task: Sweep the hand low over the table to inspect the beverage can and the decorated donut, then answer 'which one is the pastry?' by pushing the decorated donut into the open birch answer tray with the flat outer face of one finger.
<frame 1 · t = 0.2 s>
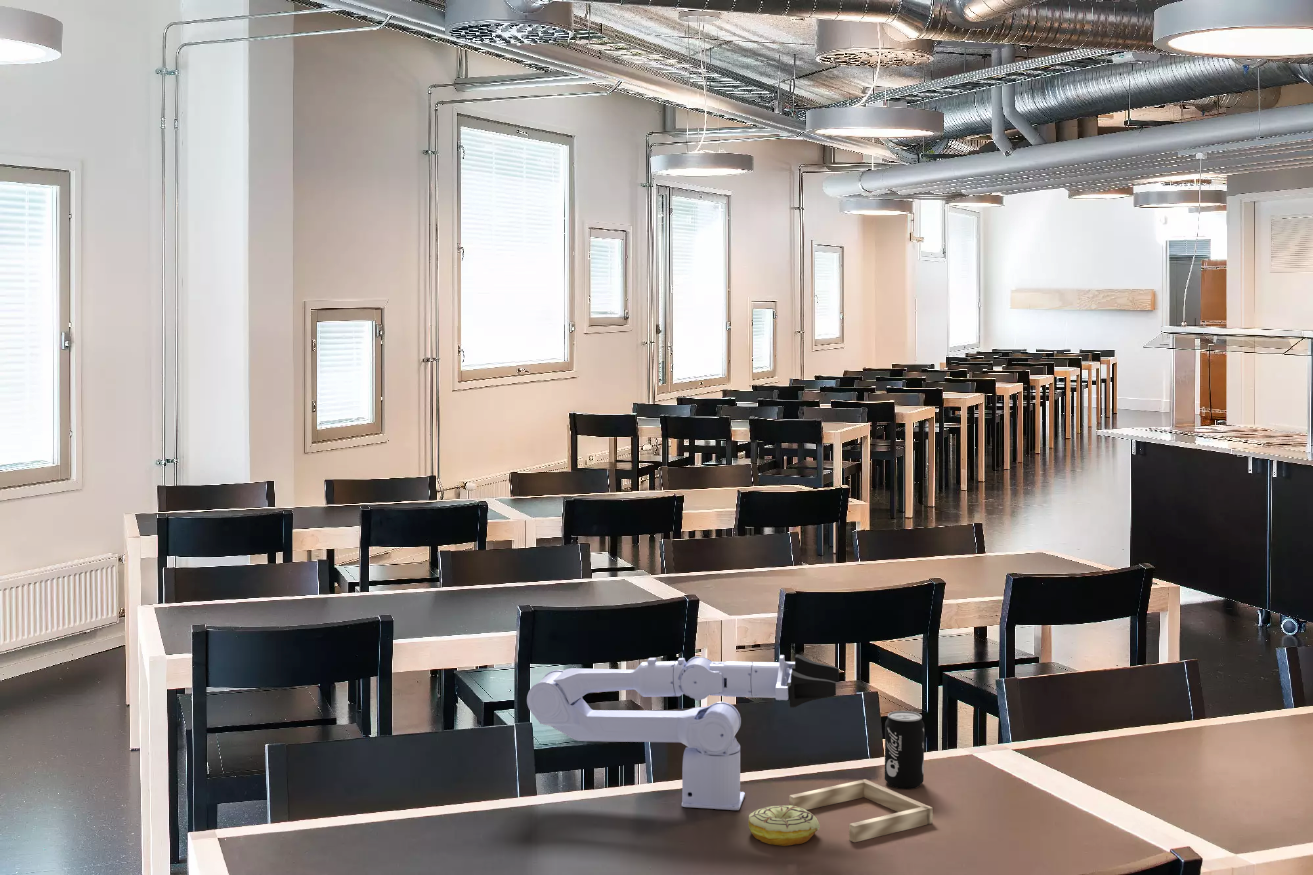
hand: (837, 681, 220), 21 cm above the table, tool horizontal, fingers open, 7 cm apart
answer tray: (858, 817, 218), on the table
decorated donut: (783, 837, 210), on the table
beverage can: (903, 785, 234), on the table
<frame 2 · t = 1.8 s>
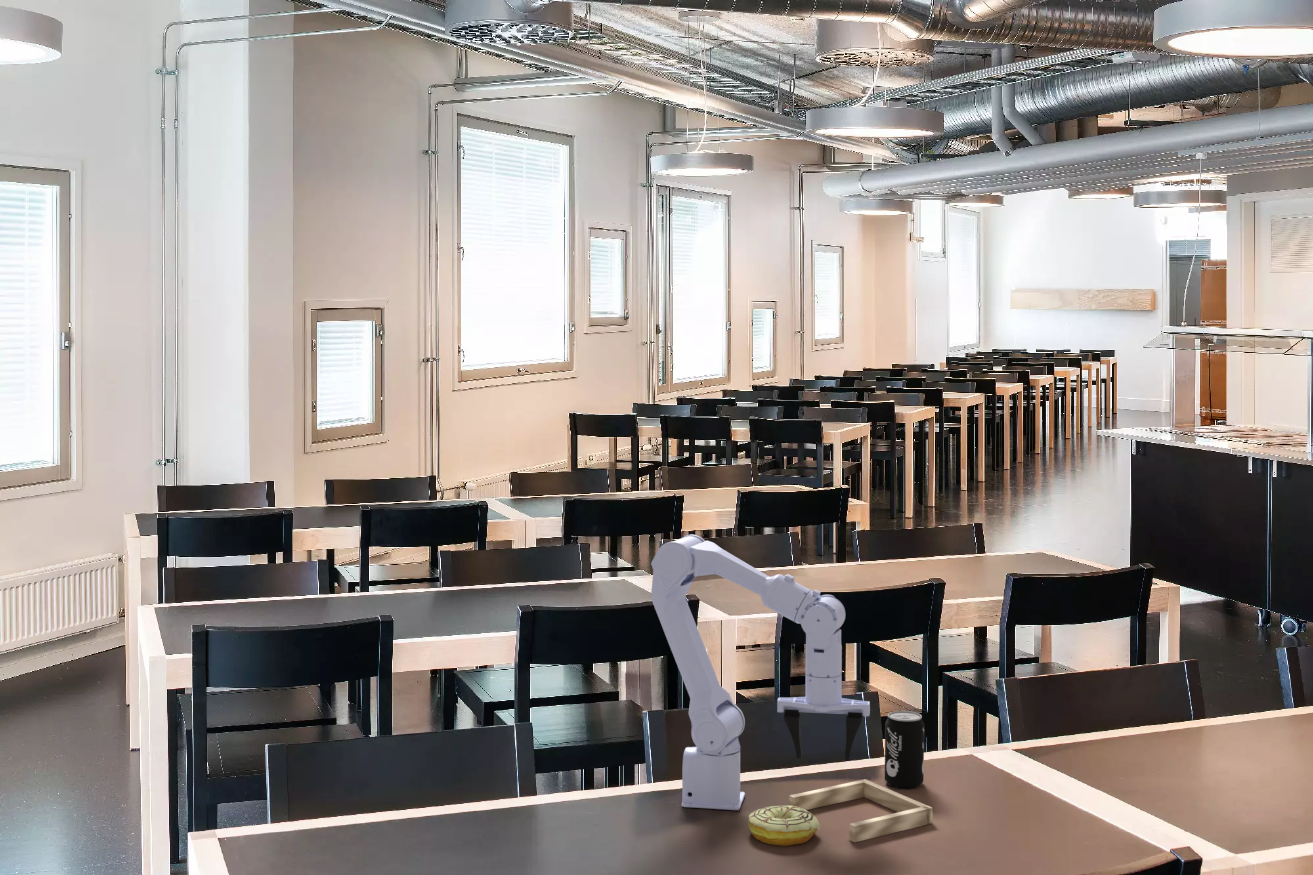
hand: (823, 757, 218), 10 cm above the table, tool pointing down, fingers open, 7 cm apart
nothing on the table moved.
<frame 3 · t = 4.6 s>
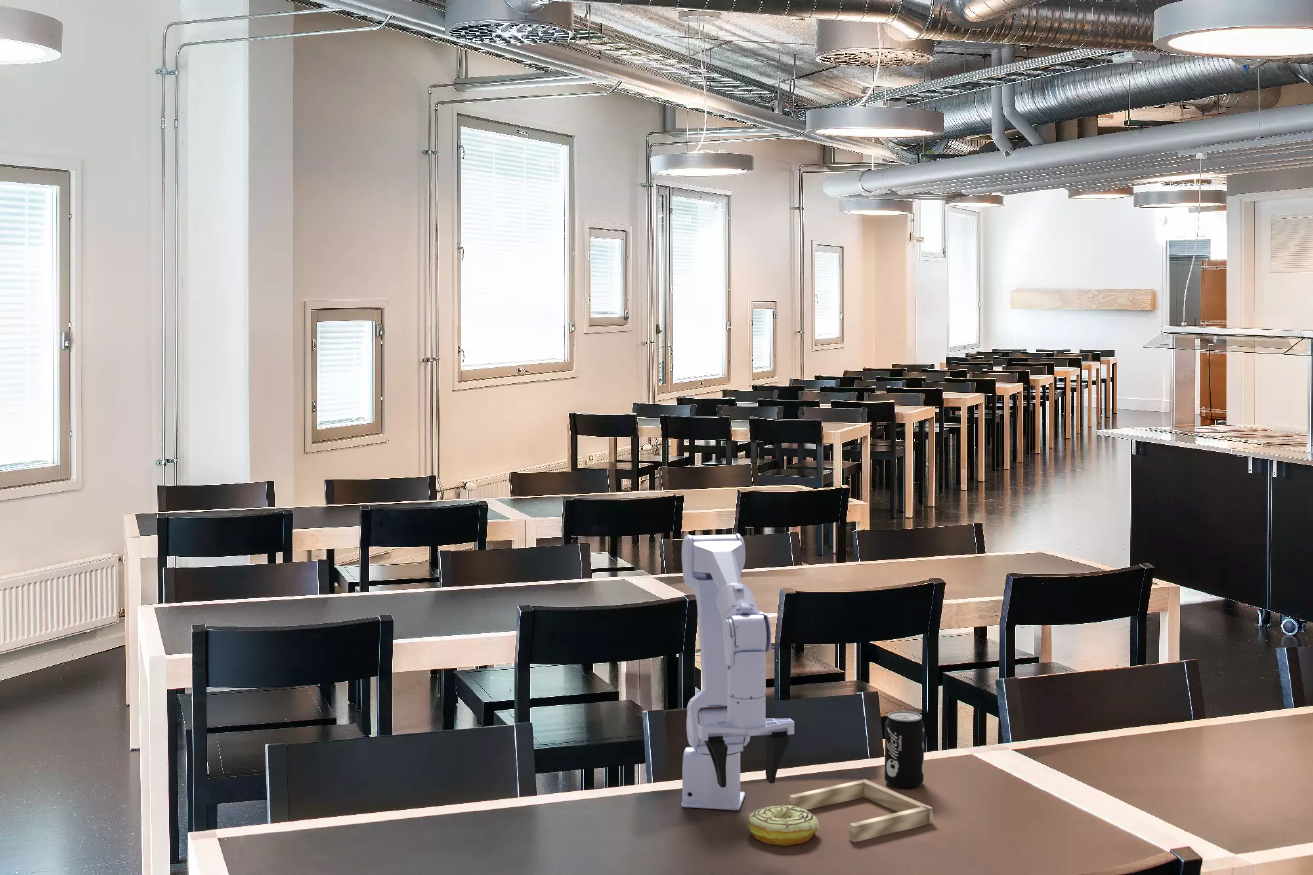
hand: (746, 783, 206), 9 cm above the table, tool pointing down, fingers open, 7 cm apart
nothing on the table moved.
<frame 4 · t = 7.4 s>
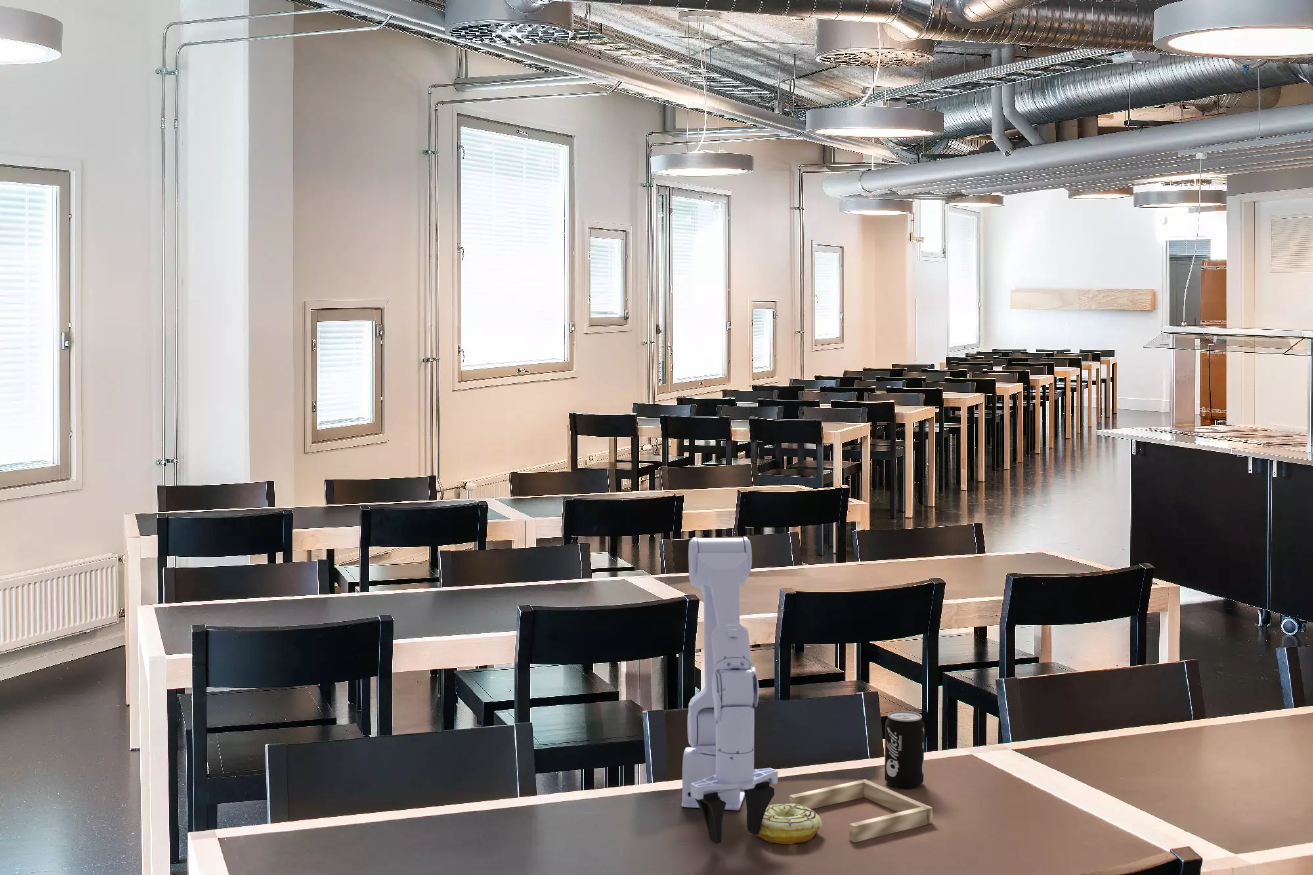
hand: (734, 837, 206), 1 cm above the table, tool pointing down, fingers open, 6 cm apart
decorated donut: (786, 835, 211), on the table, touching gripper
everything else where it was.
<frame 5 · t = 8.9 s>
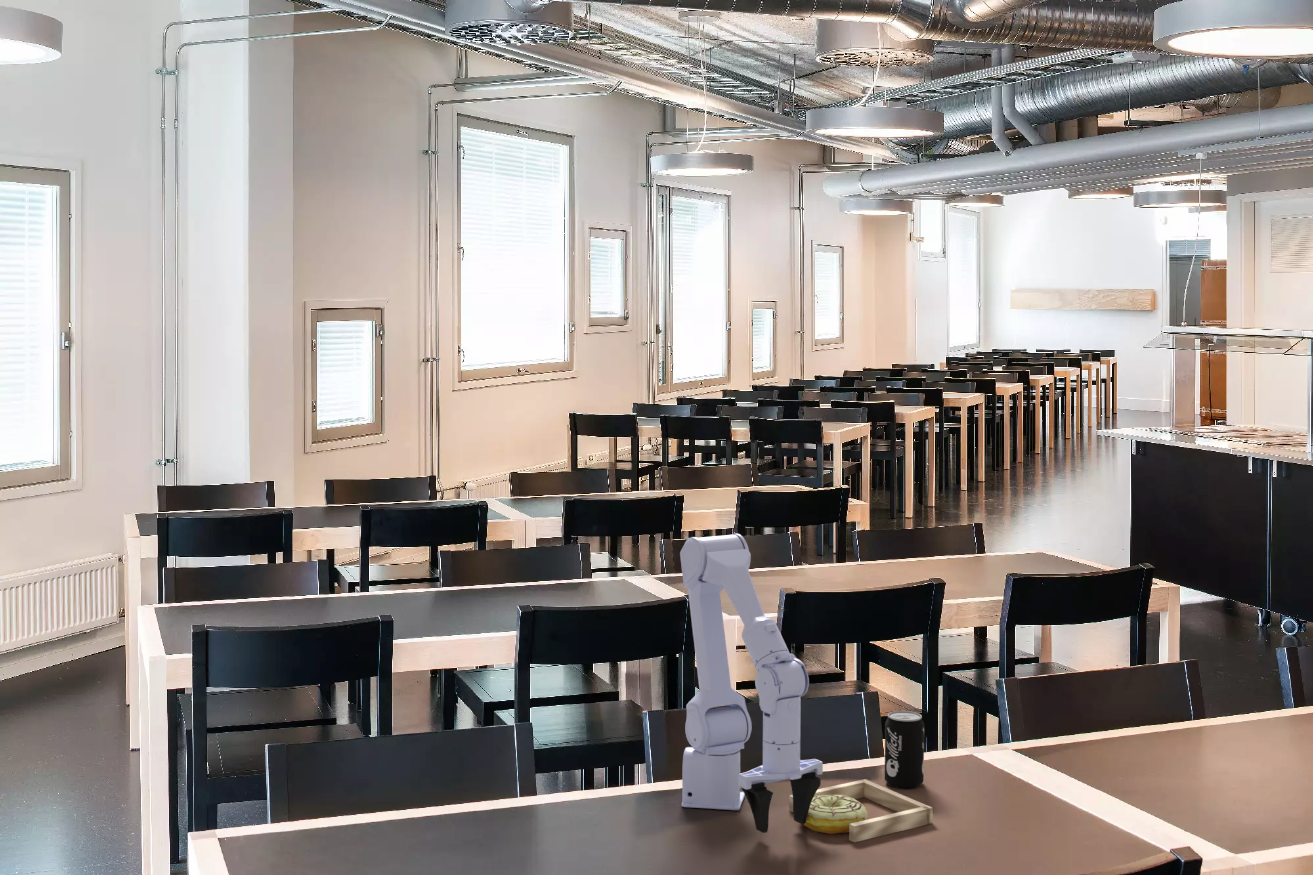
hand: (780, 826, 210), 1 cm above the table, tool pointing down, fingers open, 7 cm apart
decorated donut: (832, 825, 215), on the table, touching gripper
everything else where it was.
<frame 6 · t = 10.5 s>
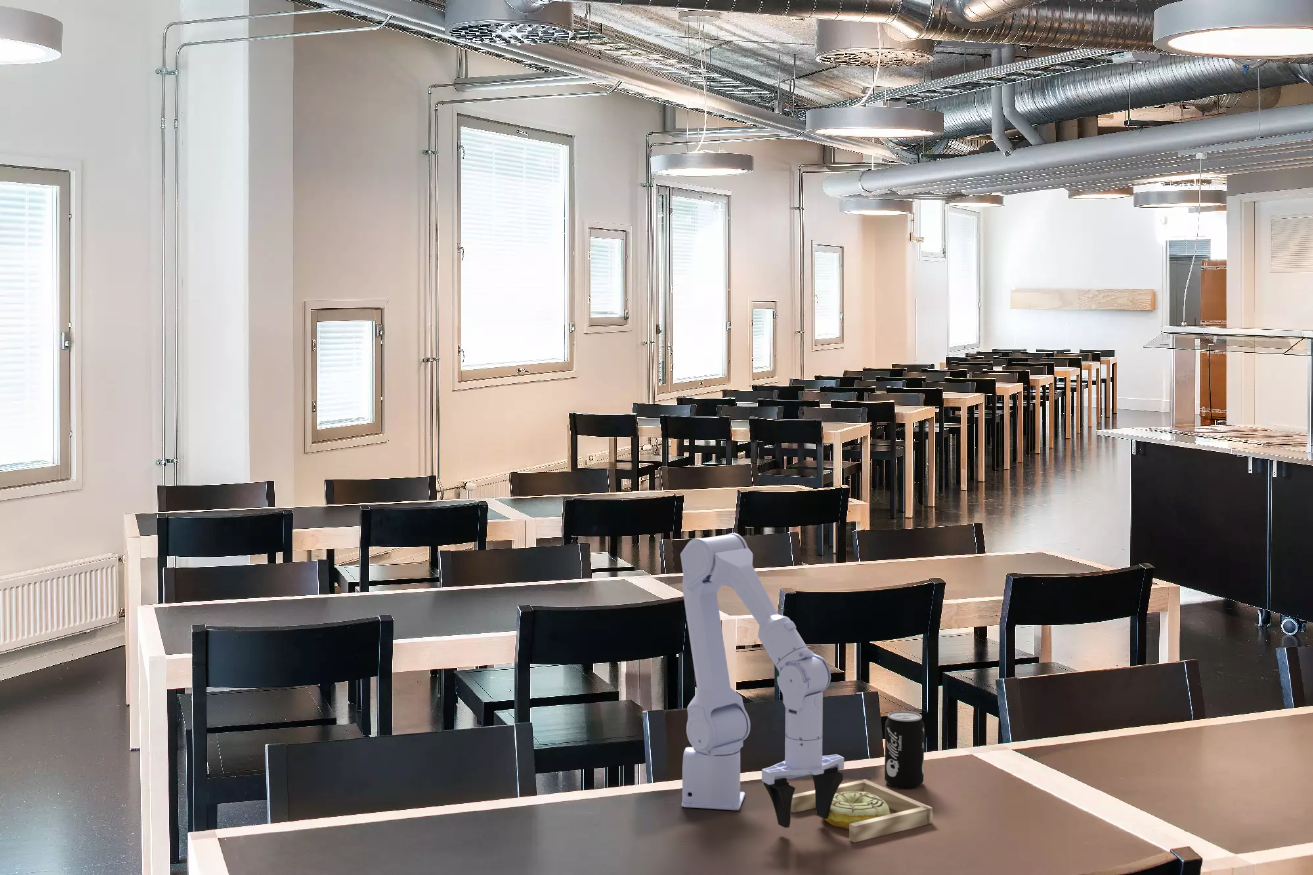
hand: (803, 821, 212), 1 cm above the table, tool pointing down, fingers open, 7 cm apart
decorated donut: (854, 822, 217), on the table
everything else where it was.
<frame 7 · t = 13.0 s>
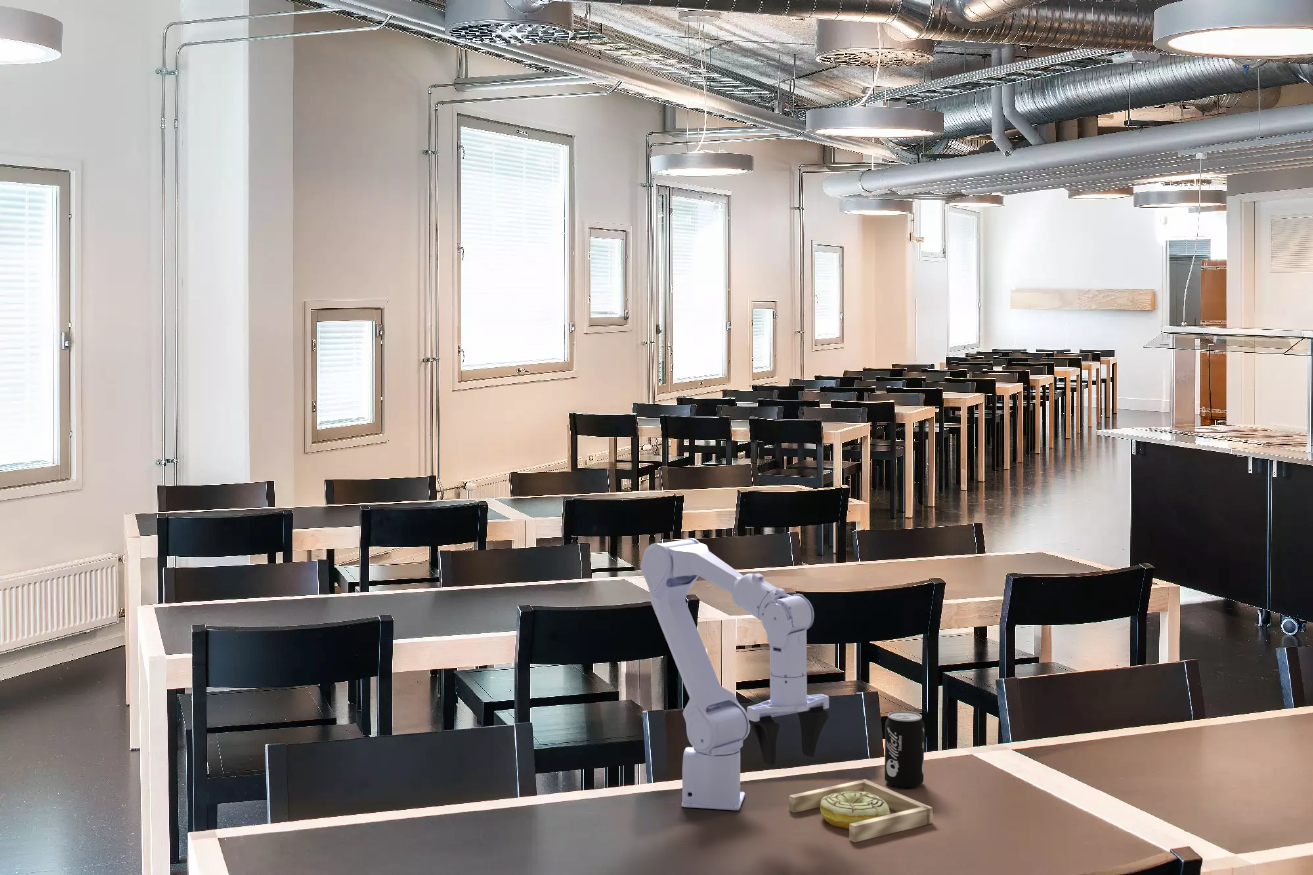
hand: (789, 759, 214), 10 cm above the table, tool pointing down, fingers open, 7 cm apart
nothing on the table moved.
at the end: decorated donut inside the target area on the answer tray (1.3 cm from its centre), point -0.5 cm above the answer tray's base; decorated donut moved 13.7 cm from its start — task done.
